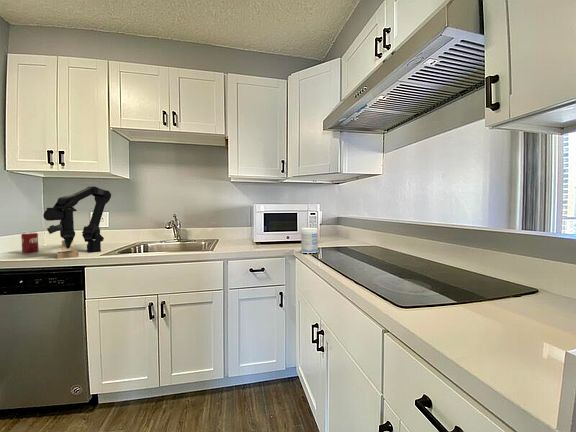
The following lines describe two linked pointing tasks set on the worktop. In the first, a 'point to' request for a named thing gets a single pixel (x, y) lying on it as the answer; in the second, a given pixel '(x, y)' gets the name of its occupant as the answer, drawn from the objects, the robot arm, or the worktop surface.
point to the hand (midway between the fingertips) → (67, 247)
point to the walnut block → (68, 254)
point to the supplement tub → (309, 240)
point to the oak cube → (66, 247)
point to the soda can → (29, 243)
